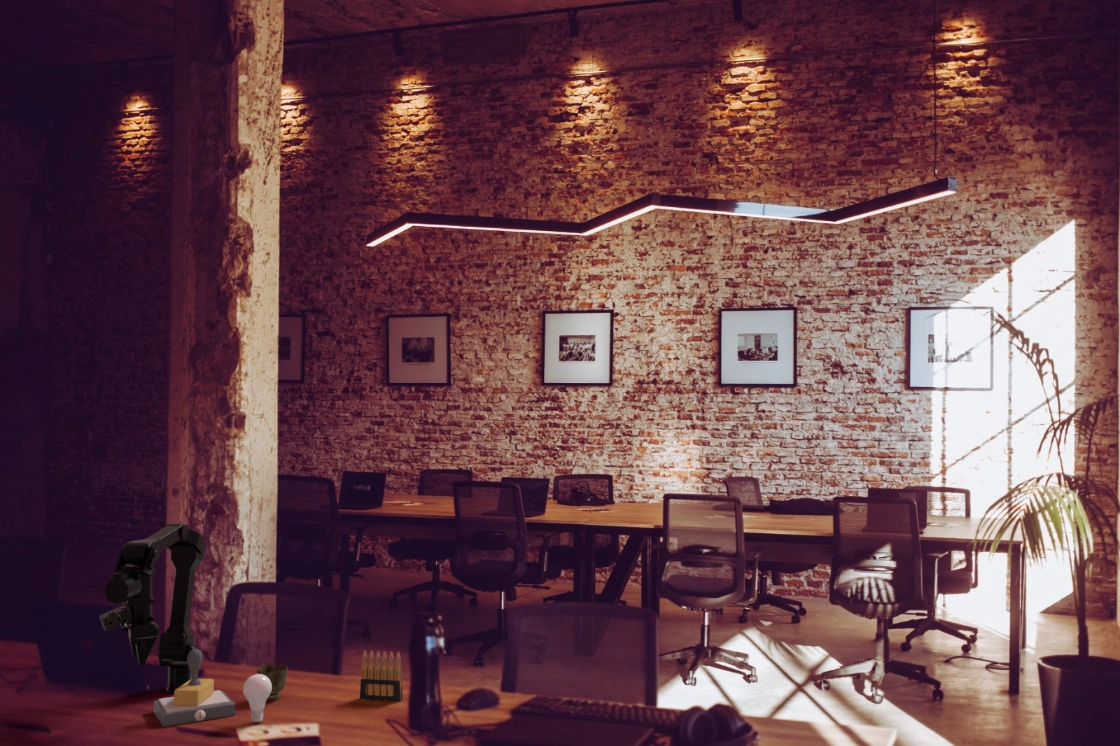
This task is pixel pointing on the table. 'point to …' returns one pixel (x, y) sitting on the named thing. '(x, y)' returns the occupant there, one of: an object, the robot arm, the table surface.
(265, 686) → the lightbulb
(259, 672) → the cup
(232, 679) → the table surface
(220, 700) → the dial scale
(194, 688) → the rubber stamp
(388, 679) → the ammunition clip
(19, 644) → the table surface
